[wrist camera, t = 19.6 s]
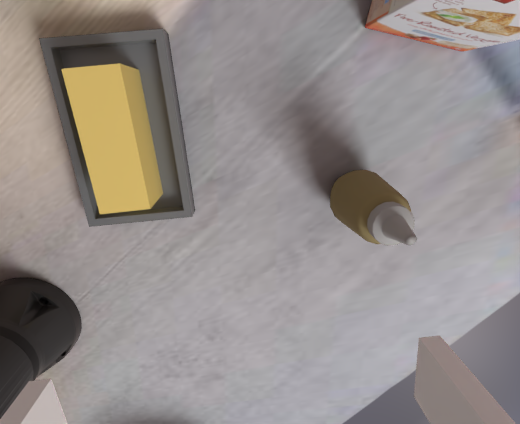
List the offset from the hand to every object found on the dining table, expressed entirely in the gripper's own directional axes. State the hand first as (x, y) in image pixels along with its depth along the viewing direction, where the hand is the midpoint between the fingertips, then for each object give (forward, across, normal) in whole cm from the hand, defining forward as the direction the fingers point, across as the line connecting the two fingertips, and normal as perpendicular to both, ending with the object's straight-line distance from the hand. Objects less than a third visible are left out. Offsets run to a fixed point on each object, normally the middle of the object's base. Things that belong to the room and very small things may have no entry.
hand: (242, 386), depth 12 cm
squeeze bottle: (+37, +16, -4) cm, 40 cm away
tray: (+37, -14, +7) cm, 40 cm away
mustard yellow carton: (+36, -14, +7) cm, 39 cm away
